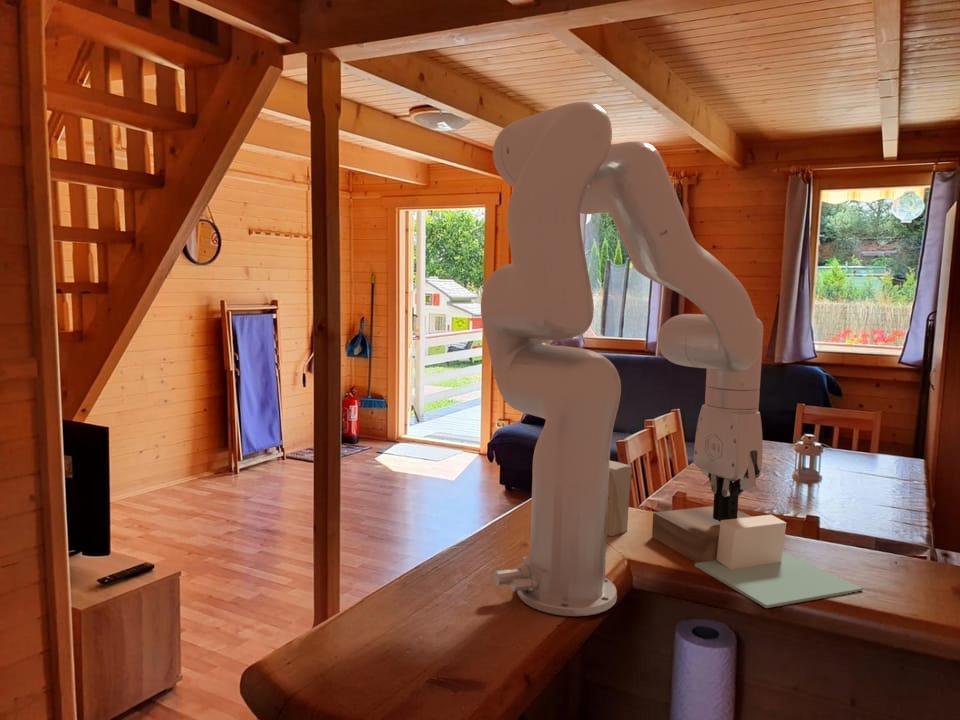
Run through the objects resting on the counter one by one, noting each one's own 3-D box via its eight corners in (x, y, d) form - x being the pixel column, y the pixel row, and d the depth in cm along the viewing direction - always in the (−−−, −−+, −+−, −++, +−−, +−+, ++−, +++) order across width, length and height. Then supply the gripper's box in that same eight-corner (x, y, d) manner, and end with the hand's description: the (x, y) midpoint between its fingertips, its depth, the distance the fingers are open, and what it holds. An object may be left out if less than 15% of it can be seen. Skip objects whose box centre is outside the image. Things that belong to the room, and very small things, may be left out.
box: (587, 528, 115) (589, 462, 114) (603, 523, 118) (605, 458, 117) (613, 537, 111) (616, 468, 110) (629, 531, 114) (632, 464, 113)
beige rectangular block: (716, 559, 101) (730, 569, 98) (720, 520, 100) (735, 528, 97) (766, 552, 104) (781, 561, 102) (771, 514, 103) (786, 522, 100)
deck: (700, 565, 101) (701, 538, 100) (652, 537, 112) (653, 512, 112) (777, 554, 106) (779, 528, 105) (723, 528, 117) (725, 504, 116)
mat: (766, 608, 87) (766, 605, 87) (694, 566, 100) (694, 563, 100) (862, 591, 93) (862, 588, 93) (782, 553, 106) (783, 550, 106)
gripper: (679, 392, 110) (673, 507, 112) (747, 408, 96) (739, 539, 98) (718, 391, 113) (712, 503, 114) (790, 406, 99) (781, 533, 100)
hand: (724, 519), depth 106 cm, fingers closed
